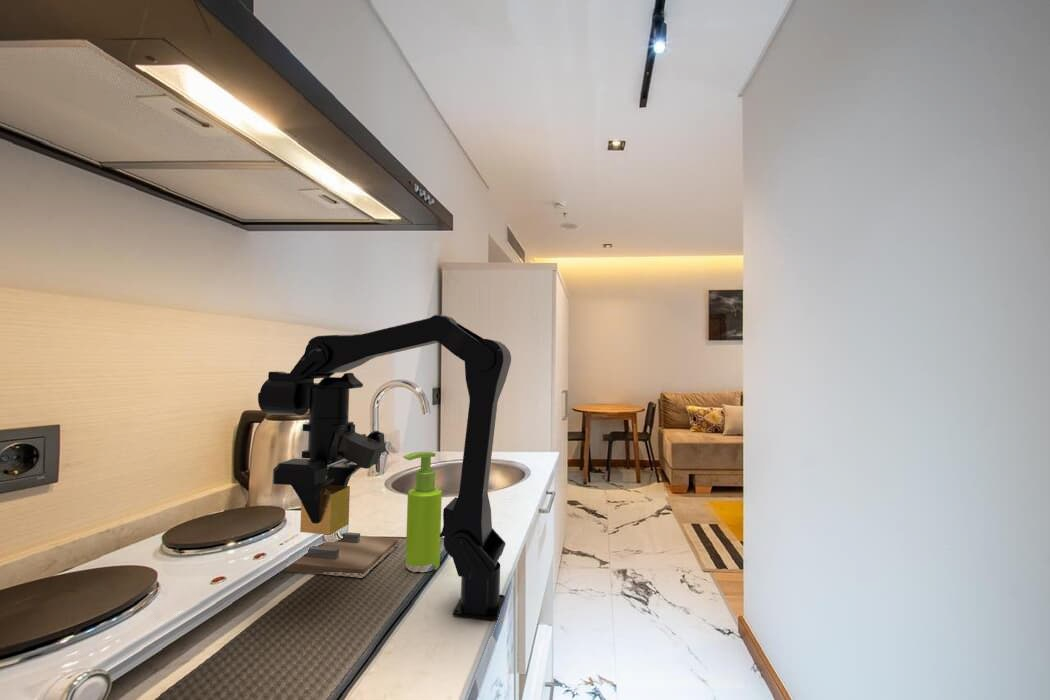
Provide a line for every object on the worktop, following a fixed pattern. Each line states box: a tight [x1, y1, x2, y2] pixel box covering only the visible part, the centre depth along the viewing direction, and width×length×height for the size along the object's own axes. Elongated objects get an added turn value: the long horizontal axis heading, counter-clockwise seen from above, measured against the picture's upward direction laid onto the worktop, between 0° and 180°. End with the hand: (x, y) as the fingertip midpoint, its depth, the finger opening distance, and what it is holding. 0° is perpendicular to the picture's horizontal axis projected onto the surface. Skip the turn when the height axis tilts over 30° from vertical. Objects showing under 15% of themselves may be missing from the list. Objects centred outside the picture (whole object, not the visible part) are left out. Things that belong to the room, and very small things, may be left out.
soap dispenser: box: [403, 451, 443, 571], centre depth 84 cm, size 6×7×20 cm
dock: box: [284, 531, 399, 575], centre depth 87 cm, size 14×14×3 cm
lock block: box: [299, 485, 351, 535], centre depth 75 cm, size 5×5×6 cm
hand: (325, 517), depth 75 cm, fingers closed on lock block, 5 cm apart
